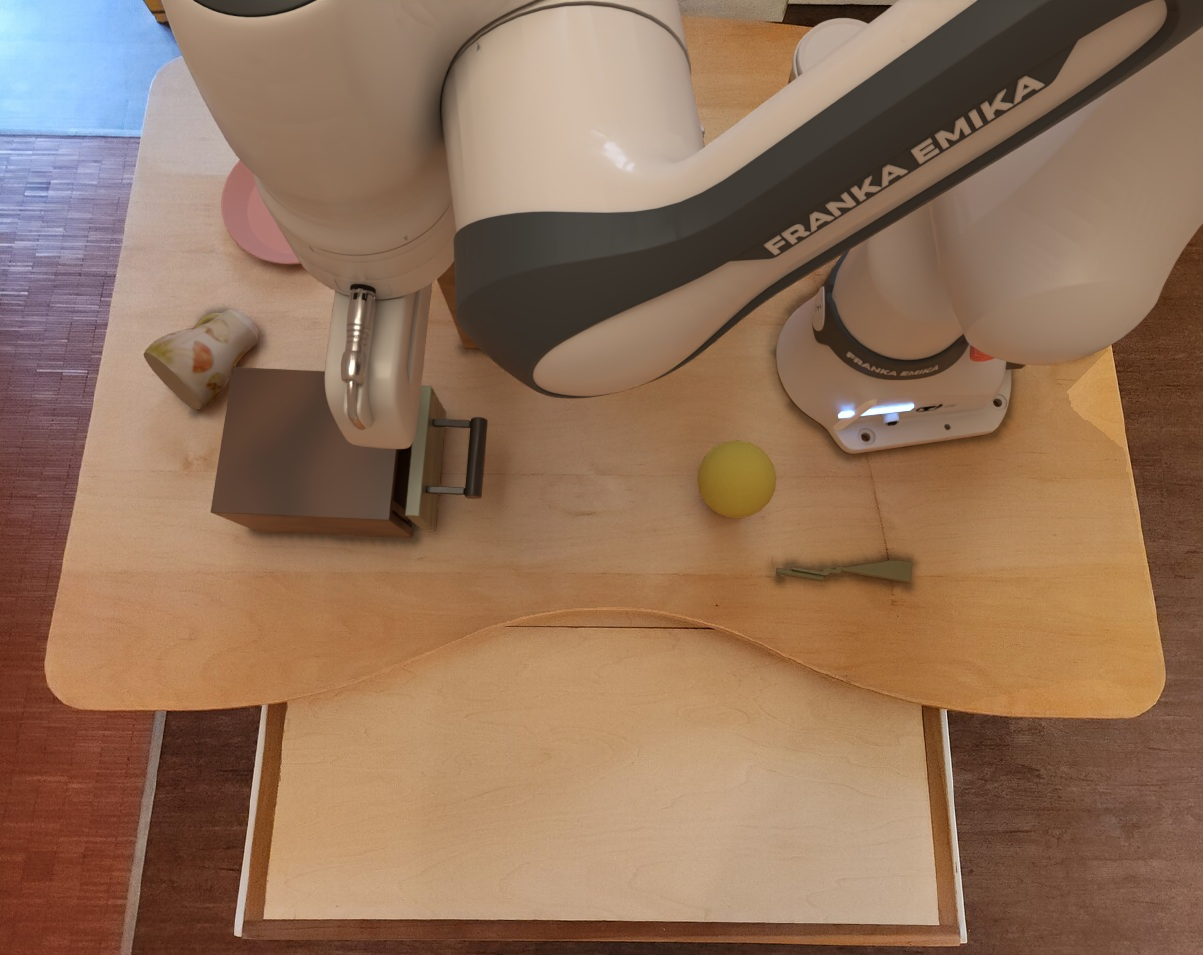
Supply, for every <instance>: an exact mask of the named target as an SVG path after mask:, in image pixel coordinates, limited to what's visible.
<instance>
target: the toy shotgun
mask: <svg viewBox="0 0 1203 955" xmlns="http://www.w3.org/2000/svg"><path fill="white" fill-rule="evenodd" d="M912 569H913V562H909V561H904V560H899V559H891V560H890V559H889V560H885V561H877V562H876V561H875V562H871V563H863V564H856V565H849V566H842V567H841V566H836V567H834V568H830V567H825V568H822V569H821V570H816V569H811V568H804V567H798V566H793V567H791V568H790V569H787V568H780V567H777V568H776V569H775V570H776V571H775V573H776V574H777V575H778V576H780V577H781V578H782V577H785V576H789V577H794V578H800V579H808V580H811V581H812V580H814V581H818V582H823V581H824V580H825V576H828V575H833V576H836V575H840V573H847V574H852V575H858V576H864V577H869V578H876V579H882V580H887V581H893V582H898V583H904V584H909V583H911V580H912Z"/></svg>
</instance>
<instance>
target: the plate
mask: <svg viewBox="0 0 1203 955" xmlns="http://www.w3.org/2000/svg"><path fill="white" fill-rule="evenodd" d="M220 202H221V203H220V204H221V205H220V207H221V215H222V220H223V223H224V226H225V228H226V230H227V232H228V233H229V235H230V237H231V239H232V240H234V242H235V243H236V244H237V245H238V246H240V248H241V249H242V250H244V251H245V252H247V253H248V254H250V255H252V256H253V257H255V258H258V259H260V260H261V261H265V262H268V263H273V264H278V265H279V264H280V265H298V264H301V263H300V262H299V260H298V259H297V257H296V256H295V254H294V252H293V251H292V249H291V247H290V246H289V244H288V242H287V241H286V239H285V237H284V236H283V234H282V232H281V231H280V229H279V227H278V226H277V224H276V222H275V221H274V219H273V217H272V216H271V214H270V213H269V211H268V209H267V207H266V206H265V204H264V202H263V200H262V198H261V196H260V194H259V191H258V189H257V186H256V183H255V179H254V175H253V173H252V172H251V171H250V170H249V169H248V168H247V167H246V166H245V165H244V164H243V163H242V162H241V161H240V159H239V160H238V161H237V162H236V163H235V165H234V166H233V168H232V169H231V170H230V172H229V174H228V176H227V178H226V180H225V182H224V185H223V189H222V193H221V201H220Z"/></svg>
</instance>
